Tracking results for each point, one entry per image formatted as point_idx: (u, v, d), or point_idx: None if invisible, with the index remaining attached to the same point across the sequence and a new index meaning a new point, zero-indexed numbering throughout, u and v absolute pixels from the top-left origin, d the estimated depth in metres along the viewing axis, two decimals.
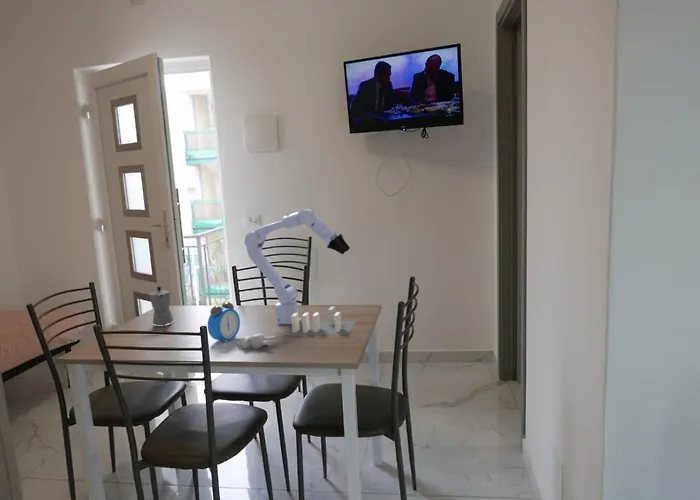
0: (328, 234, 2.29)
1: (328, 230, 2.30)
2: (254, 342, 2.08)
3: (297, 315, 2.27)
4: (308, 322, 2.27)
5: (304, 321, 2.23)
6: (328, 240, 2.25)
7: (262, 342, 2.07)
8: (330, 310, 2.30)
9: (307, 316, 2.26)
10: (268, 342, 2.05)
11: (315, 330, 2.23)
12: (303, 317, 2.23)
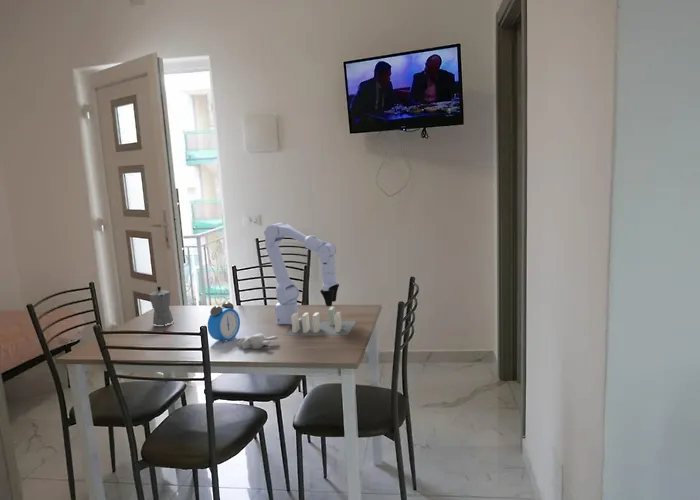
0: (330, 281, 2.28)
1: (333, 278, 2.28)
2: (254, 342, 2.08)
3: (297, 315, 2.27)
4: (308, 322, 2.27)
5: (304, 321, 2.23)
6: (326, 289, 2.24)
7: (262, 342, 2.07)
8: (330, 310, 2.30)
9: (307, 316, 2.26)
10: (268, 342, 2.05)
11: (315, 330, 2.23)
12: (303, 317, 2.23)
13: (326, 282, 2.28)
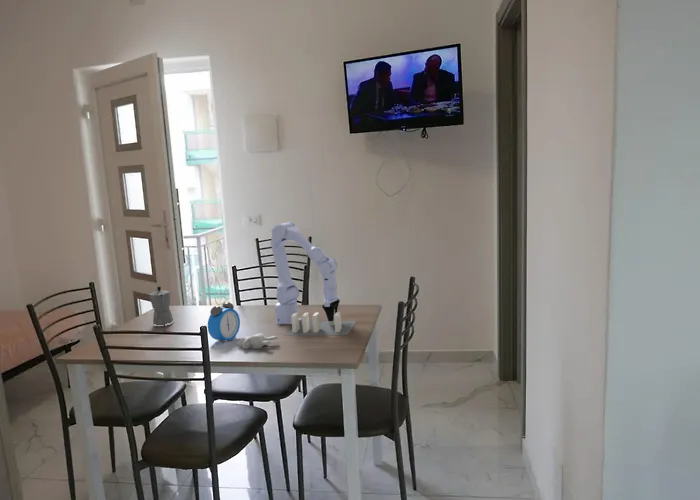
0: (331, 297, 2.29)
1: (334, 294, 2.29)
2: (254, 342, 2.08)
3: (297, 315, 2.27)
4: (308, 322, 2.27)
5: (304, 321, 2.23)
6: (327, 304, 2.25)
7: (262, 342, 2.07)
8: None
9: (307, 316, 2.26)
10: (268, 342, 2.05)
11: (315, 330, 2.23)
12: (303, 317, 2.23)
13: (327, 298, 2.29)
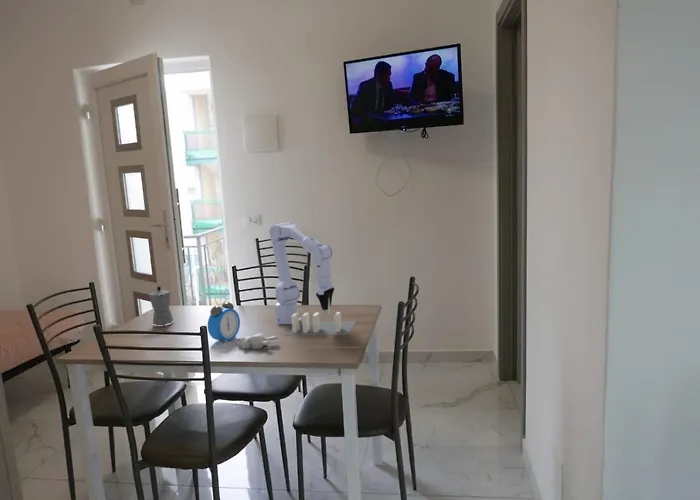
0: (325, 285, 2.20)
1: (328, 281, 2.20)
2: (254, 342, 2.08)
3: (297, 315, 2.27)
4: (308, 322, 2.27)
5: (304, 321, 2.23)
6: (321, 292, 2.16)
7: (262, 342, 2.07)
8: None
9: (307, 316, 2.26)
10: (268, 342, 2.05)
11: (315, 330, 2.23)
12: (303, 317, 2.23)
13: (321, 286, 2.20)
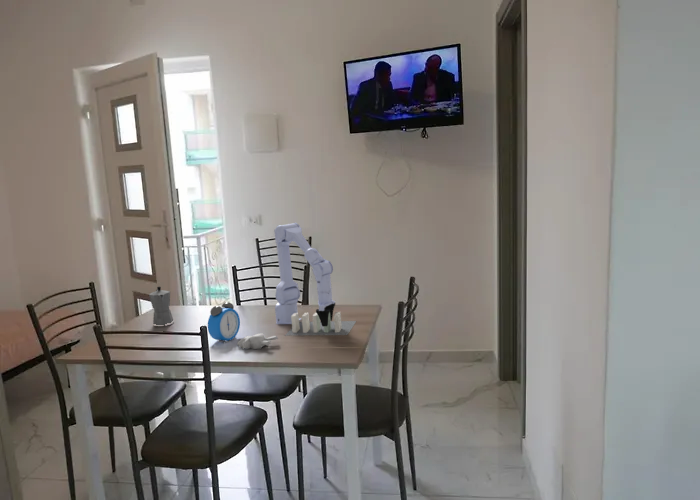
0: (326, 300, 2.20)
1: (329, 297, 2.20)
2: (254, 342, 2.08)
3: (297, 315, 2.27)
4: (308, 322, 2.27)
5: (304, 321, 2.23)
6: (321, 308, 2.16)
7: (262, 342, 2.07)
8: None
9: (307, 316, 2.26)
10: (268, 342, 2.05)
11: (315, 330, 2.23)
12: (303, 317, 2.23)
13: (322, 301, 2.20)
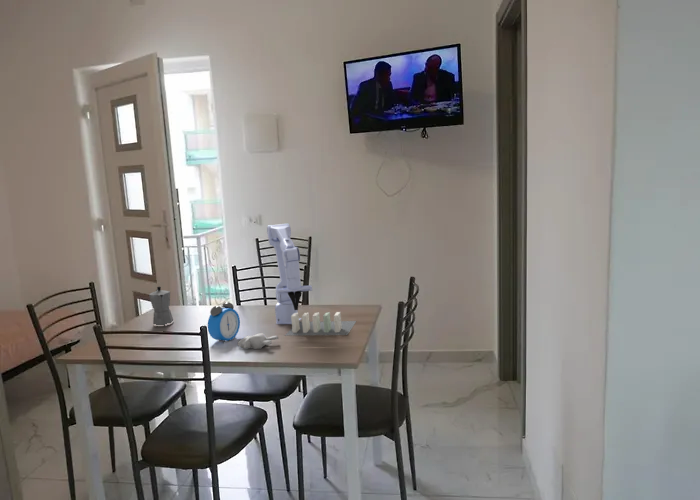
0: (287, 286, 2.23)
1: (289, 284, 2.22)
2: (255, 342, 2.08)
3: (297, 315, 2.27)
4: (308, 322, 2.27)
5: (304, 321, 2.23)
6: (276, 292, 2.23)
7: (263, 342, 2.07)
8: (325, 316, 2.21)
9: (307, 316, 2.26)
10: (269, 342, 2.05)
11: (315, 330, 2.23)
12: (303, 317, 2.23)
13: (287, 286, 2.24)
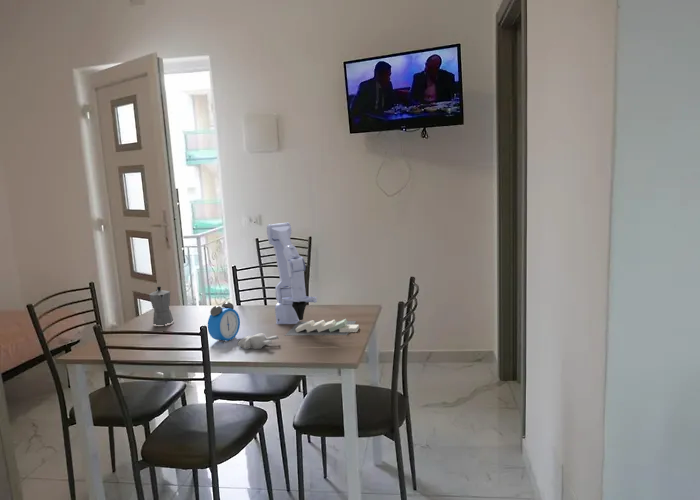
0: (292, 296, 2.24)
1: (292, 294, 2.23)
2: (255, 342, 2.08)
3: None
4: None
5: (316, 327, 2.23)
6: None
7: (263, 342, 2.07)
8: (343, 324, 2.20)
9: None
10: (269, 342, 2.05)
11: (319, 329, 2.23)
12: (320, 324, 2.22)
13: None
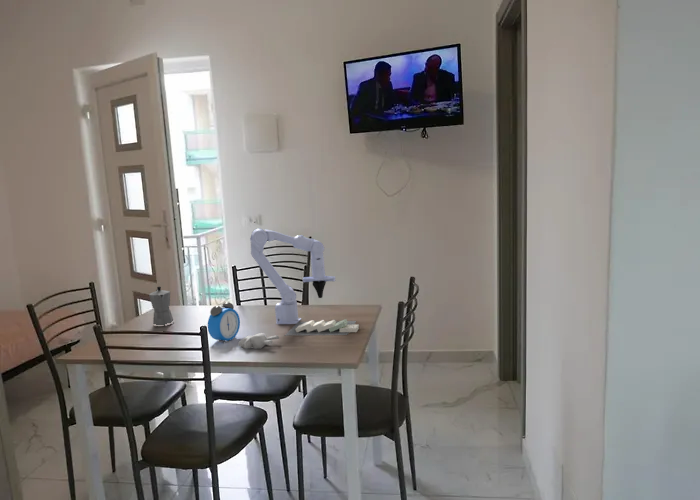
0: (312, 275, 2.42)
1: (313, 273, 2.41)
2: (255, 342, 2.08)
3: None
4: None
5: (316, 327, 2.23)
6: None
7: (264, 342, 2.07)
8: (343, 324, 2.20)
9: None
10: (270, 342, 2.05)
11: (319, 329, 2.23)
12: (320, 324, 2.22)
13: None
